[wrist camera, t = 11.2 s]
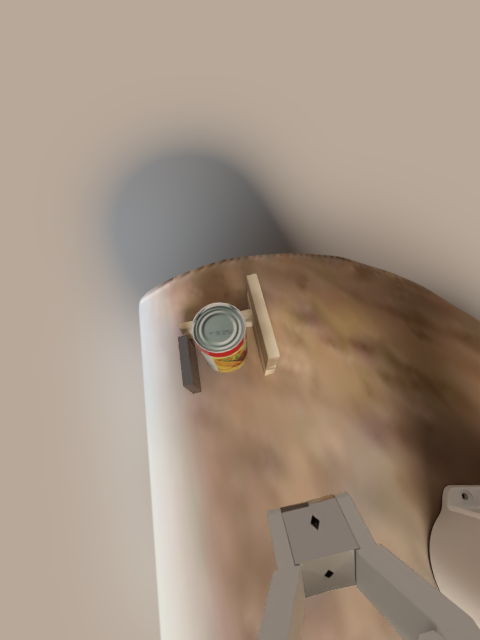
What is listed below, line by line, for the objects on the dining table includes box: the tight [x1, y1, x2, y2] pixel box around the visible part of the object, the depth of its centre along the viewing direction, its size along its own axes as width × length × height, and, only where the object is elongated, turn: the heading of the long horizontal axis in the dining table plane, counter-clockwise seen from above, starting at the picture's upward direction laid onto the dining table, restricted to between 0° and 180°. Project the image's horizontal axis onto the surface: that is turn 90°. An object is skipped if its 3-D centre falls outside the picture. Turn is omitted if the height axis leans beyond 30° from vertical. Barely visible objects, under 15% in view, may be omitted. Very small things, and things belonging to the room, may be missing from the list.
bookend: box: [178, 335, 201, 393], centre depth 42 cm, size 1×8×7 cm, turn 11°
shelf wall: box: [179, 274, 280, 375], centre depth 42 cm, size 14×14×11 cm
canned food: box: [191, 302, 247, 373], centre depth 41 cm, size 8×8×12 cm
